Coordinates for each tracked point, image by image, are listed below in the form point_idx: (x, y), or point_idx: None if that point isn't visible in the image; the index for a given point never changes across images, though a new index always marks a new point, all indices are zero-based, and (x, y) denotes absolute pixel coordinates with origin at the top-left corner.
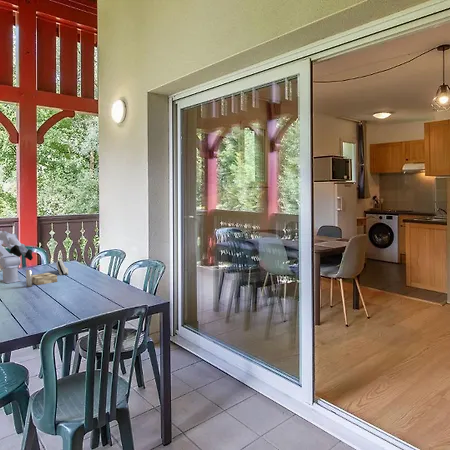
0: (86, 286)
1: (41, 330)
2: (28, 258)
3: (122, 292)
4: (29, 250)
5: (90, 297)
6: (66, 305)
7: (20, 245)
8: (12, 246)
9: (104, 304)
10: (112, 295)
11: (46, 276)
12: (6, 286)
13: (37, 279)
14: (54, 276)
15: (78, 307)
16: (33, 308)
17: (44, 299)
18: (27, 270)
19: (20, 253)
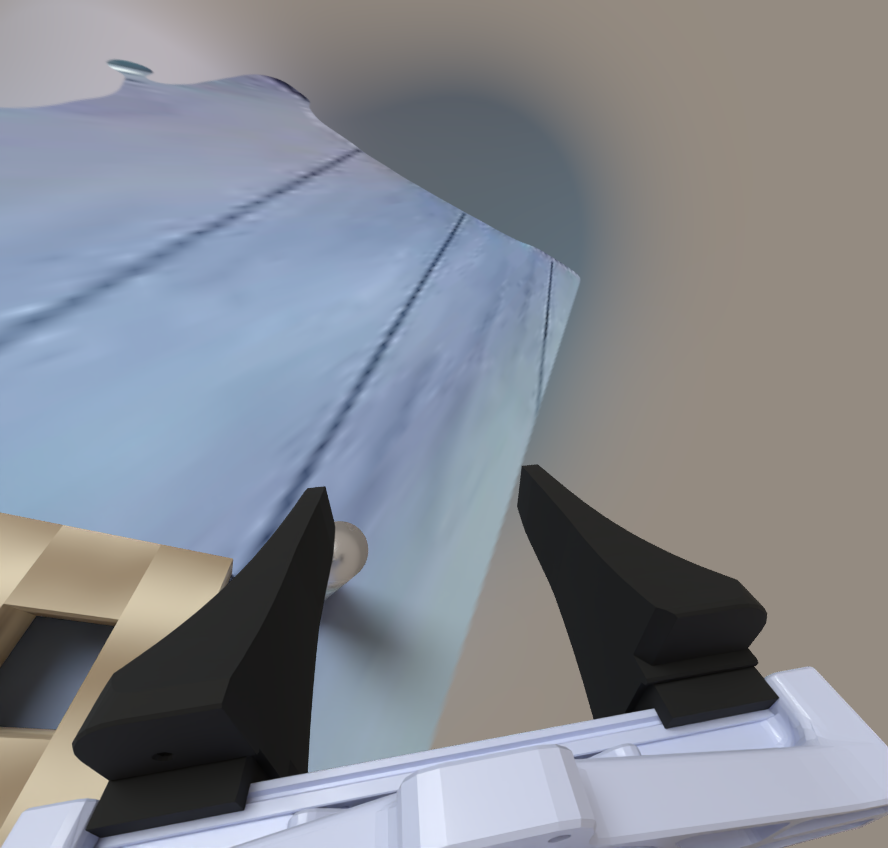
0: (137, 265)
1: (533, 250)
2: (324, 580)
3: (203, 139)
4: (243, 648)
5: (325, 218)
6: (427, 255)
7: (594, 790)
8: (784, 751)
9: (364, 182)
10: (264, 166)
11: (84, 572)
12: None
13: (229, 567)
14: (17, 518)
15: (420, 228)
16: (495, 315)
17: (430, 332)
18: (359, 544)
19: (545, 473)
